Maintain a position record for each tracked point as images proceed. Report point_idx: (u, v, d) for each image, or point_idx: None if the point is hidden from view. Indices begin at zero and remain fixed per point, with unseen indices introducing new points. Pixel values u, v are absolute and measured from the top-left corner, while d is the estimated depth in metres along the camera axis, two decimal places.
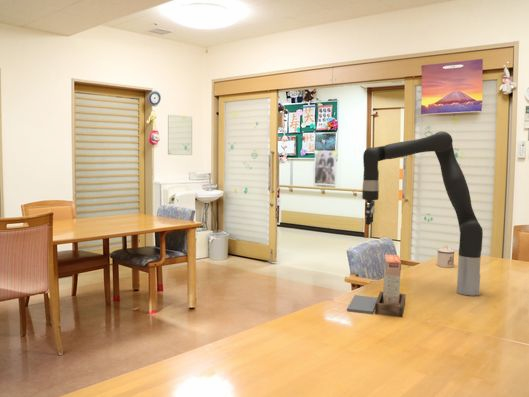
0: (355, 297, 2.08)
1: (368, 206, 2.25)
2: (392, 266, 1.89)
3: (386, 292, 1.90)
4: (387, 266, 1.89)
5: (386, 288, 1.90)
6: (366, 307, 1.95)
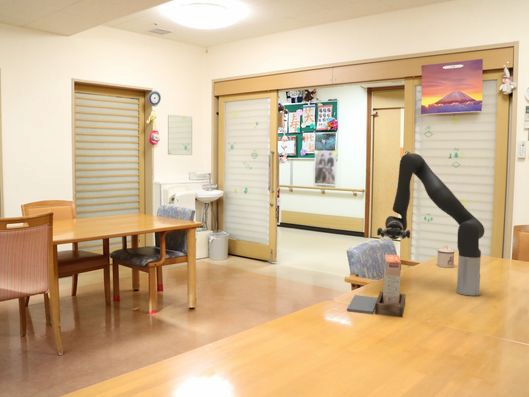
0: (355, 297, 2.08)
1: None
2: (392, 266, 1.89)
3: (386, 292, 1.90)
4: (387, 266, 1.89)
5: (386, 288, 1.90)
6: (366, 307, 1.95)
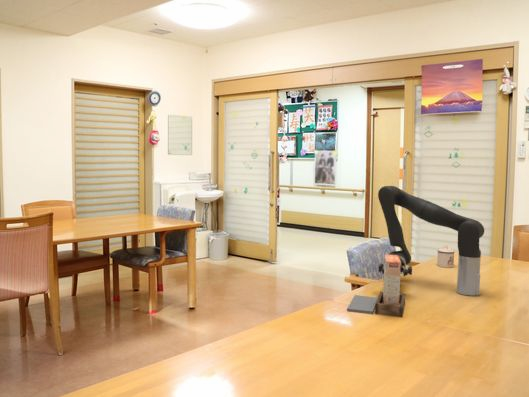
0: (355, 297, 2.08)
1: None
2: (392, 266, 1.89)
3: (386, 292, 1.90)
4: (387, 266, 1.89)
5: (386, 288, 1.90)
6: (366, 307, 1.95)
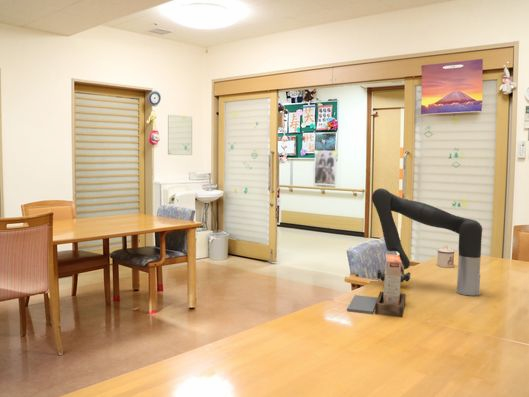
0: (355, 297, 2.08)
1: None
2: (392, 266, 1.89)
3: (386, 292, 1.90)
4: (388, 266, 1.89)
5: (386, 288, 1.90)
6: (366, 307, 1.95)
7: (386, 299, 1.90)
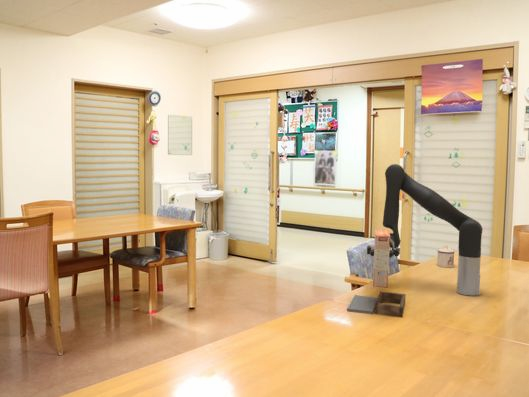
0: (355, 297, 2.08)
1: None
2: (381, 240, 1.89)
3: (375, 266, 1.91)
4: (376, 240, 1.90)
5: (375, 262, 1.91)
6: (366, 307, 1.95)
7: (375, 273, 1.91)
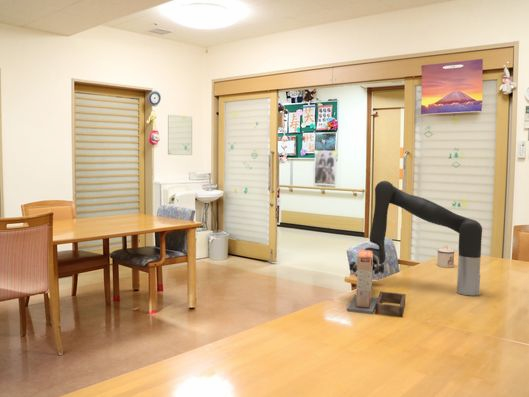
0: (355, 297, 2.08)
1: None
2: (363, 261, 1.93)
3: (358, 286, 1.94)
4: (359, 261, 1.93)
5: (358, 282, 1.94)
6: None
7: (358, 293, 1.94)
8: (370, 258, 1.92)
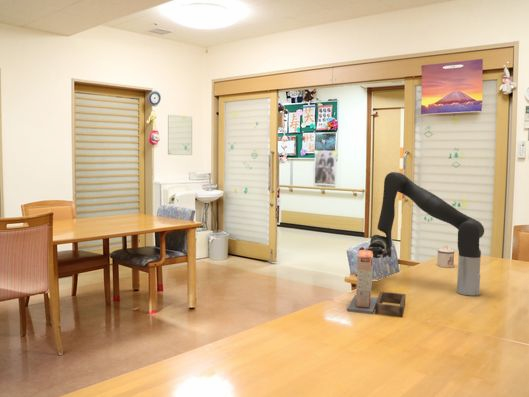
0: (355, 297, 2.08)
1: None
2: (363, 261, 1.93)
3: (358, 286, 1.94)
4: (359, 261, 1.93)
5: (358, 282, 1.94)
6: None
7: (358, 293, 1.94)
8: (370, 258, 1.92)
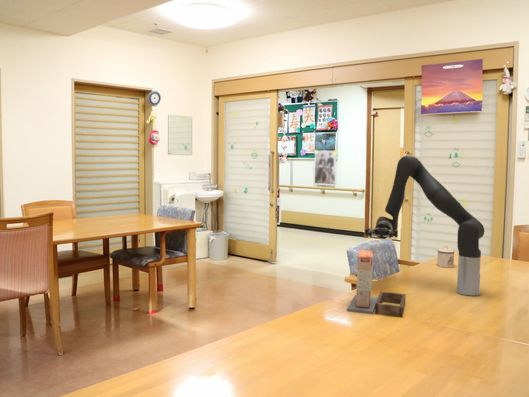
0: (355, 297, 2.08)
1: None
2: (363, 261, 1.93)
3: (358, 286, 1.94)
4: (359, 261, 1.93)
5: (358, 282, 1.94)
6: None
7: (358, 293, 1.94)
8: (370, 258, 1.92)
